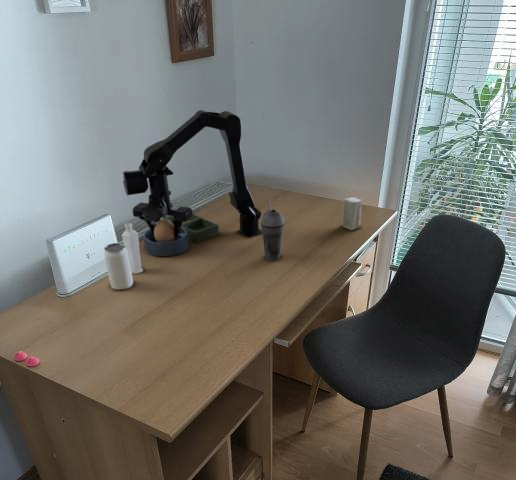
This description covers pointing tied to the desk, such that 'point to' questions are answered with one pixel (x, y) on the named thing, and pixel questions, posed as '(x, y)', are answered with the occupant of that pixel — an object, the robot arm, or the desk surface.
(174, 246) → the bowl
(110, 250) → the can
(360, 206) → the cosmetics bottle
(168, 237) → the egg
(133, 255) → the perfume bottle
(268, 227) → the beverage cup
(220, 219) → the desk surface
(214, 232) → the carton
